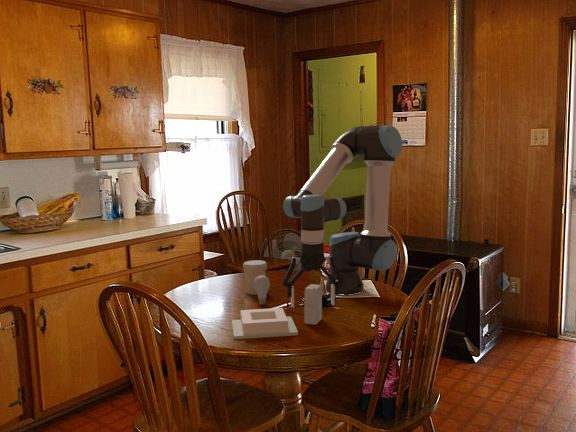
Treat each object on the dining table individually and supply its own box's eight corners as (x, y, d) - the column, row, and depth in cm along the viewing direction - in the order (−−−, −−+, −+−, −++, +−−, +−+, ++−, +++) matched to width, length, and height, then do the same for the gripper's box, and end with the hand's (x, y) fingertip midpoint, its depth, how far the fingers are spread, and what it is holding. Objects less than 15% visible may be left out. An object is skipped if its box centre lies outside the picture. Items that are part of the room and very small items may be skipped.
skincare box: (310, 318, 199) (309, 283, 197) (322, 319, 197) (322, 284, 196) (303, 323, 193) (303, 288, 192) (316, 325, 192) (316, 289, 190)
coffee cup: (271, 292, 232) (271, 262, 231) (251, 296, 227) (250, 266, 225) (259, 287, 240) (258, 259, 238) (239, 291, 235) (238, 262, 233)
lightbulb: (268, 307, 212) (267, 277, 211) (252, 306, 214) (251, 277, 212) (272, 302, 218) (271, 273, 217) (256, 302, 220) (255, 273, 218)
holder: (291, 319, 198) (290, 306, 198) (298, 335, 183) (298, 321, 182) (231, 322, 196) (231, 309, 195) (233, 339, 180) (233, 325, 179)
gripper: (347, 239, 197) (346, 300, 200) (273, 241, 194) (274, 303, 196) (352, 242, 190) (352, 306, 192) (275, 245, 186) (276, 310, 189)
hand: (312, 305), depth 194 cm, fingers open, 13 cm apart
